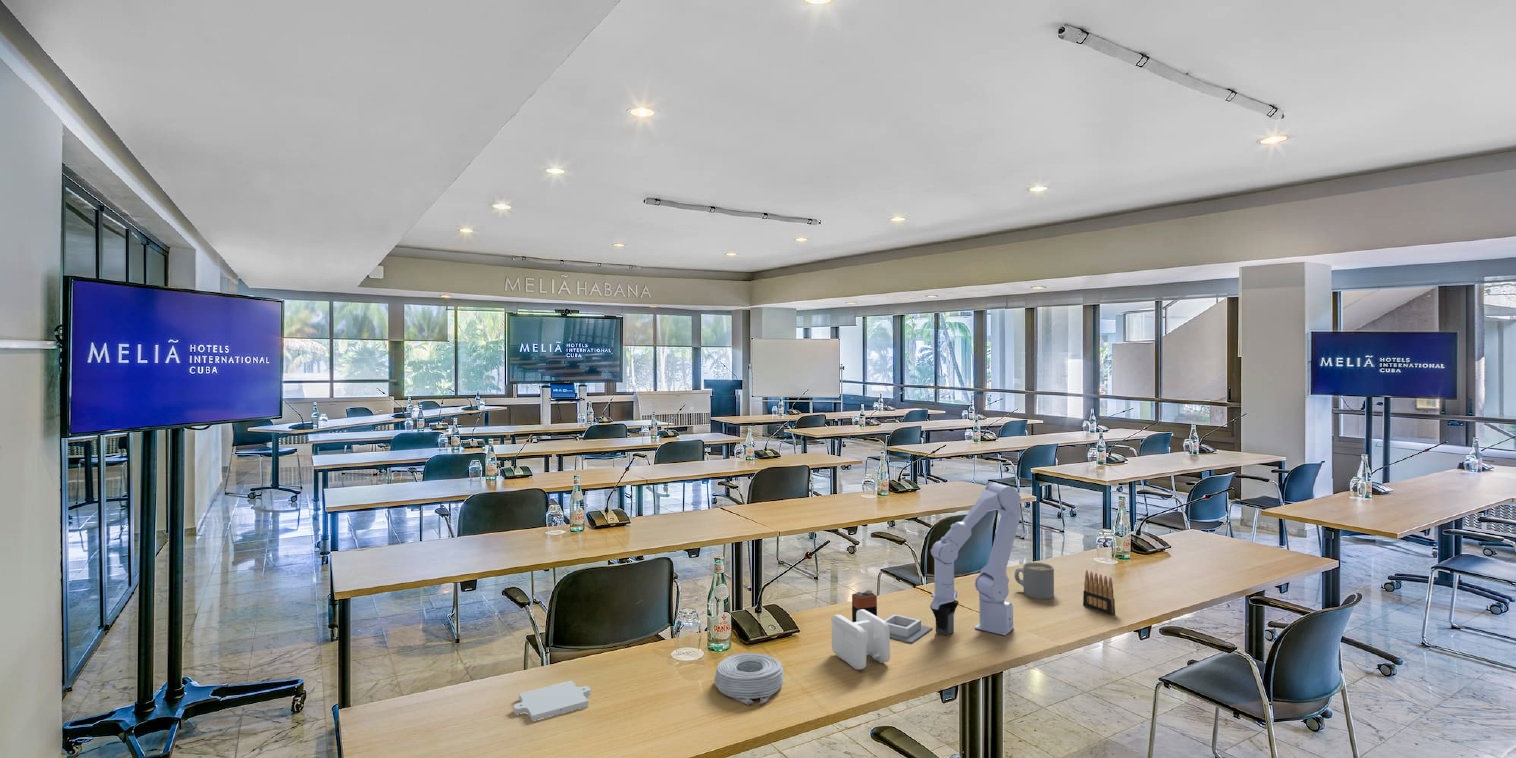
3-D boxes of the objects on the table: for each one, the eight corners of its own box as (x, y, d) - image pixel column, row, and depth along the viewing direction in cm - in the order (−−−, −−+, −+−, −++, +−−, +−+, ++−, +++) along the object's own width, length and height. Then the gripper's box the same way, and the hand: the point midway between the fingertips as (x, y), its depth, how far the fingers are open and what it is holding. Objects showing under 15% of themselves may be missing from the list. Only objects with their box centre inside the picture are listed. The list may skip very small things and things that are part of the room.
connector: (953, 631, 206) (953, 607, 206) (948, 635, 203) (948, 611, 203) (941, 628, 209) (941, 605, 209) (935, 632, 206) (935, 608, 206)
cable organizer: (892, 667, 182) (892, 623, 182) (859, 675, 178) (858, 630, 178) (861, 647, 196) (860, 606, 196) (829, 654, 191) (829, 612, 191)
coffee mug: (1059, 595, 239) (1059, 567, 239) (1042, 600, 234) (1042, 571, 234) (1026, 585, 250) (1026, 558, 250) (1009, 590, 245) (1009, 563, 245)
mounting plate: (520, 727, 154) (520, 718, 154) (508, 704, 165) (508, 696, 165) (598, 705, 163) (598, 697, 163) (581, 685, 174) (581, 677, 174)
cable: (760, 710, 160) (759, 684, 160) (700, 692, 169) (699, 668, 169) (796, 681, 175) (795, 658, 175) (739, 666, 184) (738, 644, 184)
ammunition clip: (1082, 605, 229) (1082, 569, 229) (1086, 604, 230) (1086, 569, 230) (1111, 615, 219) (1111, 578, 219) (1115, 614, 220) (1115, 577, 220)
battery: (877, 624, 213) (877, 592, 213) (858, 627, 211) (857, 595, 211) (870, 619, 217) (870, 588, 217) (851, 622, 215) (851, 590, 215)
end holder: (932, 629, 209) (932, 619, 209) (911, 643, 198) (911, 633, 198) (891, 619, 217) (890, 610, 217) (869, 632, 206) (869, 622, 206)
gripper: (941, 573, 214) (942, 617, 214) (921, 585, 203) (921, 630, 203) (963, 577, 210) (963, 621, 210) (944, 589, 198) (944, 636, 199)
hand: (944, 626), depth 206 cm, fingers closed on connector, 4 cm apart
